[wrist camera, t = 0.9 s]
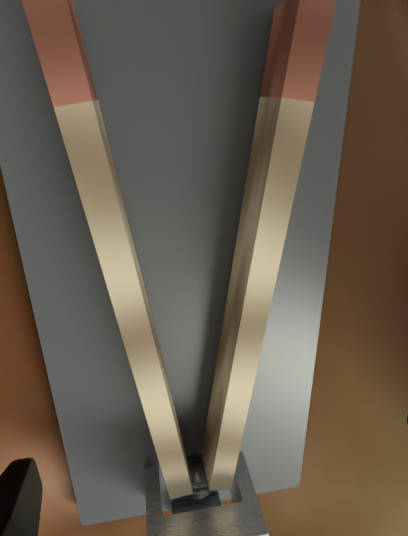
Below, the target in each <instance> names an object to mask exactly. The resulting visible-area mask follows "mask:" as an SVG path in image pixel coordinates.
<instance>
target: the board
mask: <svg viewBox="0 0 408 536" xmlns="http://www.w3.org/2000/svg"><path fill="white" fill-rule="evenodd" d="M72 1H73V2H74V6H75V10H76V14H77V18H78V22H79V26H80V30H81V34H82V38H83V42H84V46H85V50H86V54H87V58H88V62H89V66H90V70H91V74H92V78H93V82H94V86H95V90H96V94H97V98H98V102H99V106H100V110H101V114H102V118H103V122H104V126H105V130H106V134H107V138H108V142H109V146H110V150H111V154H112V158H113V162H114V166H115V170H116V174H117V178H118V182H119V186H120V190H121V194H122V198H123V202H124V206H125V210H126V214H127V218H128V222H129V226H130V230H131V234H132V238H133V242H134V246H135V250H136V254H137V258H138V262H139V266H140V270H141V274H142V278H143V282H144V286H145V290H146V294H147V298H148V302H149V306H150V310H151V314H152V318H153V322H154V326H155V330H156V334H157V338H158V342H159V346H160V350H161V354H162V358H163V362H164V366H165V370H166V374H167V378H168V382H169V386H170V390H171V394H172V398H173V402H174V406H175V410H176V414H177V418H178V422H179V426H180V430H181V434H182V438H183V442H184V446H185V450H186V455H187V456H189V455H191V454H200V455H202V447H203V441H204V435H205V428H206V422H207V416H208V410H209V404H210V398H211V392H212V386H213V380H214V374H215V367H216V361H217V355H218V349H219V343H220V337H221V331H222V325H223V319H224V313H225V306H226V300H227V294H228V288H229V282H230V276H231V270H232V264H233V258H234V251H235V245H236V239H237V233H238V227H239V221H240V215H241V209H242V203H243V197H244V190H245V184H246V178H247V172H248V166H249V160H250V154H251V148H252V142H253V136H254V129H255V123H256V117H257V111H258V105H259V99H260V93H261V87H262V81H263V74H264V68H265V62H266V56H267V50H268V44H269V38H270V32H271V26H272V20H273V13H274V7H275V6H277V5H279V4H280V3H282V2H284V1H285V0H72ZM360 2H361V0H336V5H335V9H334V14H333V19H332V23H331V28H330V33H329V37H328V42H327V47H326V51H325V56H324V61H323V65H322V70H321V74H320V79H319V84H318V88H317V93H316V98H315V102H314V107H313V112H312V116H311V121H310V126H309V130H308V135H307V140H306V144H305V149H304V154H303V158H302V163H301V168H300V172H299V177H298V181H297V186H296V191H295V195H294V200H293V205H292V209H291V214H290V219H289V223H288V228H287V233H286V237H285V242H284V247H283V251H282V256H281V261H280V265H279V270H278V274H277V279H276V284H275V288H274V293H273V298H272V302H271V307H270V312H269V316H268V321H267V326H266V330H265V335H264V340H263V344H262V349H261V354H260V358H259V363H258V367H257V372H256V377H255V381H254V386H253V391H252V395H251V400H250V405H249V409H248V414H247V419H246V423H245V428H244V433H243V437H242V442H241V447H240V451H239V452H242V451H243V454H244V458H245V461H246V464H247V467H248V470H249V473H250V476H251V479H252V482H253V485H254V489H255V492H256V494H260V493H266V492H271V491H276V490H282V489H287V488H293V487H298V486H299V484H300V476H301V468H302V460H303V452H304V444H305V437H306V429H307V421H308V413H309V405H310V397H311V389H312V381H313V373H314V365H315V357H316V350H317V342H318V334H319V326H320V318H321V310H322V302H323V294H324V286H325V278H326V271H327V263H328V255H329V247H330V239H331V231H332V223H333V215H334V207H335V199H336V192H337V184H338V176H339V168H340V160H341V152H342V144H343V136H344V128H345V120H346V113H347V105H348V97H349V89H350V81H351V73H352V65H353V57H354V49H355V41H356V34H357V26H358V18H359V10H360ZM0 166H1V170H2V175H3V179H4V184H5V188H6V193H7V197H8V201H9V206H10V210H11V215H12V219H13V224H14V228H15V232H16V237H17V241H18V246H19V250H20V255H21V259H22V263H23V268H24V272H25V277H26V281H27V286H28V290H29V294H30V299H31V303H32V308H33V312H34V317H35V321H36V325H37V330H38V334H39V339H40V343H41V347H42V352H43V356H44V361H45V365H46V370H47V374H48V378H49V383H50V387H51V392H52V396H53V401H54V405H55V409H56V414H57V418H58V423H59V427H60V432H61V436H62V440H63V445H64V449H65V454H66V458H67V463H68V467H69V471H70V476H71V480H72V485H73V489H74V494H75V498H76V502H77V507H78V511H79V516H80V520H81V524H82V526H86V525H91V524H97V523H102V522H108V521H113V520H119V519H124V518H129V517H135V516H140V515H146V498H145V476H144V468H145V467H151V466H157V465H158V469H159V480H160V491H161V502H162V511H168V510H172V505H171V501H176V500H181V499H187V498H190V497H189V495H186V496H182V497H179V498H175V499H171V500H170V497H169V494H168V490H167V487H166V484H165V480H164V477H163V473H162V470H161V467H160V463H159V460H158V457H157V453H156V450H155V447H154V443H153V440H152V436H151V433H150V430H149V426H148V423H147V420H146V416H145V413H144V410H143V406H142V403H141V400H140V396H139V393H138V389H137V386H136V383H135V379H134V376H133V373H132V369H131V366H130V363H129V359H128V356H127V352H126V349H125V346H124V342H123V339H122V336H121V332H120V329H119V326H118V322H117V319H116V315H115V312H114V309H113V305H112V302H111V299H110V295H109V292H108V289H107V285H106V282H105V278H104V275H103V272H102V268H101V265H100V262H99V258H98V255H97V252H96V248H95V245H94V242H93V238H92V235H91V231H90V228H89V225H88V221H87V218H86V215H85V211H84V208H83V205H82V201H81V198H80V194H79V191H78V188H77V184H76V181H75V178H74V174H73V171H72V168H71V164H70V161H69V157H68V154H67V151H66V147H65V144H64V141H63V137H62V134H61V131H60V127H59V124H58V120H57V117H56V114H55V110H54V107H53V104H52V100H51V97H50V94H49V90H48V87H47V83H46V80H45V77H44V73H43V70H42V67H41V63H40V60H39V57H38V53H37V50H36V47H35V43H34V40H33V36H32V33H31V30H30V26H29V23H28V20H27V16H26V13H25V10H24V6H23V3H22V0H0ZM214 493H219V498H220V501H222V500H227V499H232V498H231V495H230V491H229V489H223V490H211V491H210V493H209V494H214ZM209 494H208V495H209Z"/></svg>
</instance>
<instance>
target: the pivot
mask: <svg viewBox="0 0 408 536" xmlns="http://www.w3.org/2000/svg"><path fill="white" fill-rule="evenodd" d="M187 460H188V466H189V473H190V479H191V485H192V491H193V494H190V495H189V497H190V498H187V499H181V500H176V501H171V505H172V514H178V513H183V512H189V511H194V510H199V509H205V508H210V507H216V506H221V502H220V498H219V493H214V494H209V493H210V491H209V486H208V481H207V477H206V472H205V467H204V462H203V457H202V455H200V454H191V455H189V456H187ZM208 494H209V495H208Z"/></svg>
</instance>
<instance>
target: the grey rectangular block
mask: <svg viewBox="0 0 408 536" xmlns="http://www.w3.org/2000/svg"><path fill="white" fill-rule="evenodd" d="M144 476H145V498H146V521H147V536H269V532H268V529H267V526H266V523H265V520H264V517H263V513H262V510H261V507H260V504H259V501H258V498H257V495H256V492H255V489H254V485H253V482H252V479H251V476H250V473H249V470H248V467H247V464H246V461H245V458H244V454H243V451H242V452H239V456H238V461H237V465H236V470H235V474H234V479H233V484H232V488H231V489H229V491H230V495H231V498H232V502H233V503H232V504H226V505H221V506H216V507H210V508H205V509H199V510H194V511H189V512H183V513H178V514H172V515H167V516H163V514H162V502H161V491H160V480H159V469H158V465H157V466H151V467H145V468H144Z"/></svg>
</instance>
